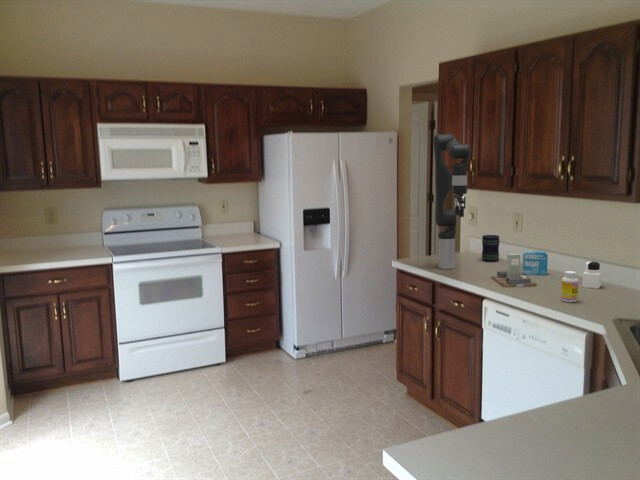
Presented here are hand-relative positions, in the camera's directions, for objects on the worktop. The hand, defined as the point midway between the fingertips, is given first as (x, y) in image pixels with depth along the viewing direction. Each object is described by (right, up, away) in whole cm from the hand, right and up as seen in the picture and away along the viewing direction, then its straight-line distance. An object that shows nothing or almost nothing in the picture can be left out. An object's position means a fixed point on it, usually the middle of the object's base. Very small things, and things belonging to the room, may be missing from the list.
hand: (459, 216), depth 290 cm
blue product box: (+43, -31, +11) cm, 54 cm away
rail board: (+26, -34, -5) cm, 43 cm away
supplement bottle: (+38, -39, -41) cm, 68 cm away
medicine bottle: (+59, -35, -18) cm, 71 cm away
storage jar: (+31, -25, +49) cm, 63 cm away
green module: (+26, -32, -5) cm, 42 cm away
